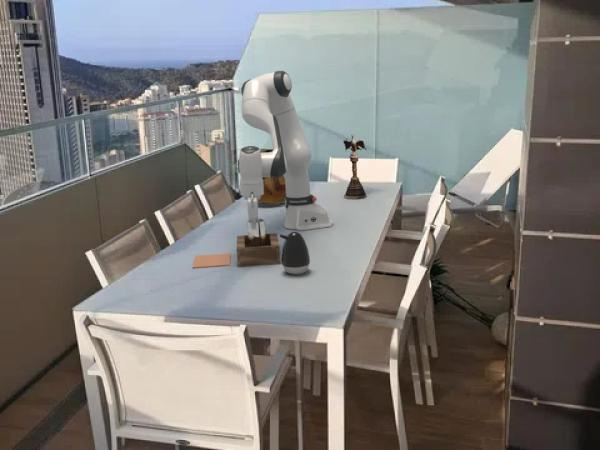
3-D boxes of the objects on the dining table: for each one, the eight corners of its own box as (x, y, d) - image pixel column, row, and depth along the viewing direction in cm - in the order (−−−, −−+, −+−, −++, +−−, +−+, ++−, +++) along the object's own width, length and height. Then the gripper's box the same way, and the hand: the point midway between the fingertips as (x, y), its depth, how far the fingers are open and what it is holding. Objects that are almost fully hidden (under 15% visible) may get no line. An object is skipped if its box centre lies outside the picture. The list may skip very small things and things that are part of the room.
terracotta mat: (230, 254, 247) (230, 253, 247) (229, 265, 234) (229, 264, 234) (195, 257, 246) (195, 255, 246) (192, 268, 233) (192, 267, 233)
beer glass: (270, 255, 243) (267, 218, 239) (263, 261, 237) (260, 223, 233) (253, 254, 246) (251, 218, 242) (246, 260, 239) (244, 222, 235)
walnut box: (238, 252, 249) (236, 235, 248) (277, 249, 251) (276, 232, 249) (237, 266, 232) (236, 248, 230) (280, 263, 233) (279, 245, 231)
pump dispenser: (282, 268, 228) (280, 228, 224) (310, 267, 228) (308, 227, 224) (280, 277, 218) (278, 236, 214) (310, 276, 218) (308, 235, 214)
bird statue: (346, 192, 348) (344, 130, 339) (369, 193, 345) (367, 130, 335) (339, 199, 333) (337, 134, 324) (363, 199, 329) (361, 133, 320)
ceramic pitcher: (296, 201, 333) (293, 146, 325) (275, 210, 316) (271, 151, 309) (266, 198, 343) (263, 144, 335) (244, 206, 327) (240, 150, 319)
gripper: (260, 195, 225) (262, 231, 228) (260, 184, 244) (261, 218, 248) (243, 196, 224) (245, 232, 228) (244, 185, 244) (245, 219, 248)
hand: (253, 225), depth 238 cm, fingers open, 8 cm apart
